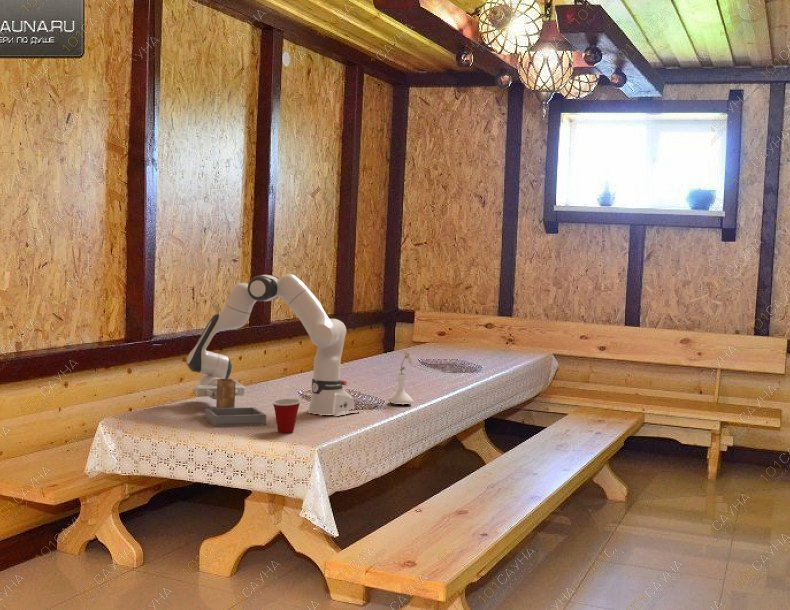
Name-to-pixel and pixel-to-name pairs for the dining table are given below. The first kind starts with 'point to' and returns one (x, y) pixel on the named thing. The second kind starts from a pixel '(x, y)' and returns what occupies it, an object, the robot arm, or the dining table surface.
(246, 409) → the gray tray
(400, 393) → the flower in vase
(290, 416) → the plastic cup
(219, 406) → the wooden pencil holder
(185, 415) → the dining table surface
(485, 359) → the dining table surface
